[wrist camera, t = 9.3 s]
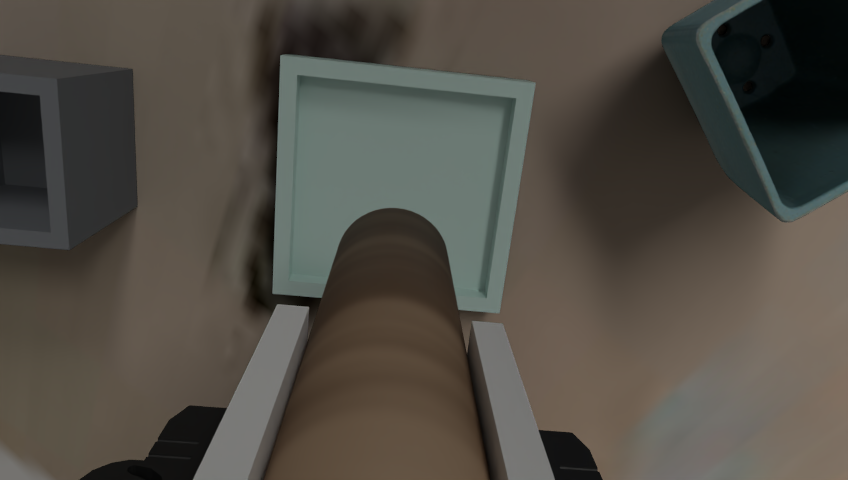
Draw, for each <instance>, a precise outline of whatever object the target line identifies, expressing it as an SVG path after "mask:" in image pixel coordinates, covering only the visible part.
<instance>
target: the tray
mask: <svg viewBox="0 0 848 480" xmlns="http://www.w3.org/2000/svg"><path fill="white" fill-rule="evenodd" d="M535 84H536V83H535V82H532V81H529V80H522V79H513V78H504V77H494V76H485V75H476V74H467V73H458V72H448V71H439V70H430V69H421V68H412V67H402V66H393V65H384V64H375V63H365V62H356V61H347V60H338V59H329V58H319V57H310V56H301V55H292V54H285V55H280V84H279V114H278V143H277V173H276V202H275V232H274V261H273V291H272V294H282V295H294V296H305V297H317V298H322V295H323V292H324V289H325V286H326V283H327V280H328V277H329V274H330V271H331V268H332V264H333V261H334V258H335V255H336V252H337V249H338V246H339V243H340V241H341V238H342V236H343V235H344V233H345V231H346V230H347V229H348V228H349V226H350V225H351V224H352V223H353V222H354V221H356V220H357V219H358V218H360V217H361V216H363V215H365V214H367V213H369V212H372V211H374V210H378V209H383V208H400V209H406V210H409V211H413V212H415V213H417V214H419V215H421V216H423V217H424V218H426V219H427V220H428V221H430V222H431V223H432V224H433V225H434V226H435V227H436V229H437V230H438V231H439V233H440V234H441V236H442V238H443V240H444V242H445V245H446V249H447V253H448V258H449V263H450V269H451V274H452V279H453V285H454V290H455V295H456V300H457V306H458V310H466V311H478V312H489V313H500V307H501V301H502V295H503V288H504V282H505V275H506V269H507V263H508V256H509V250H510V244H511V237H512V231H513V224H514V218H515V212H516V205H517V199H518V193H519V186H520V180H521V174H522V167H523V161H524V154H525V148H526V142H527V135H528V129H529V123H530V116H531V110H532V103H533V97H534V91H535Z"/></svg>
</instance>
